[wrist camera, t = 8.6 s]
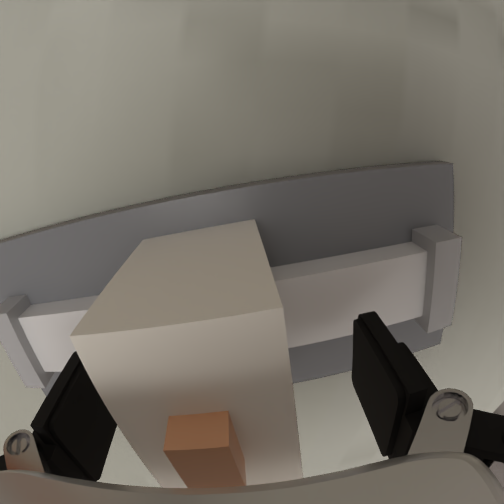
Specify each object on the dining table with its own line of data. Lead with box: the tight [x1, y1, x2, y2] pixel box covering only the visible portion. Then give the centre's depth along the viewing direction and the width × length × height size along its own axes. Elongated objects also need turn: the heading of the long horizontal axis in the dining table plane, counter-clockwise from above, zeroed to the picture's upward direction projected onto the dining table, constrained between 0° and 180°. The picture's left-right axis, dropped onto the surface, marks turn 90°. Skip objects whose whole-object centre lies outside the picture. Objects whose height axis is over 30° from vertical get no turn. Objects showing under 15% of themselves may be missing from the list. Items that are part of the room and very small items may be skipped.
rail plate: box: [0, 161, 462, 397], centre depth 15 cm, size 26×11×3 cm, turn 99°
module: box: [69, 219, 303, 488], centre depth 11 cm, size 5×8×9 cm, turn 9°
